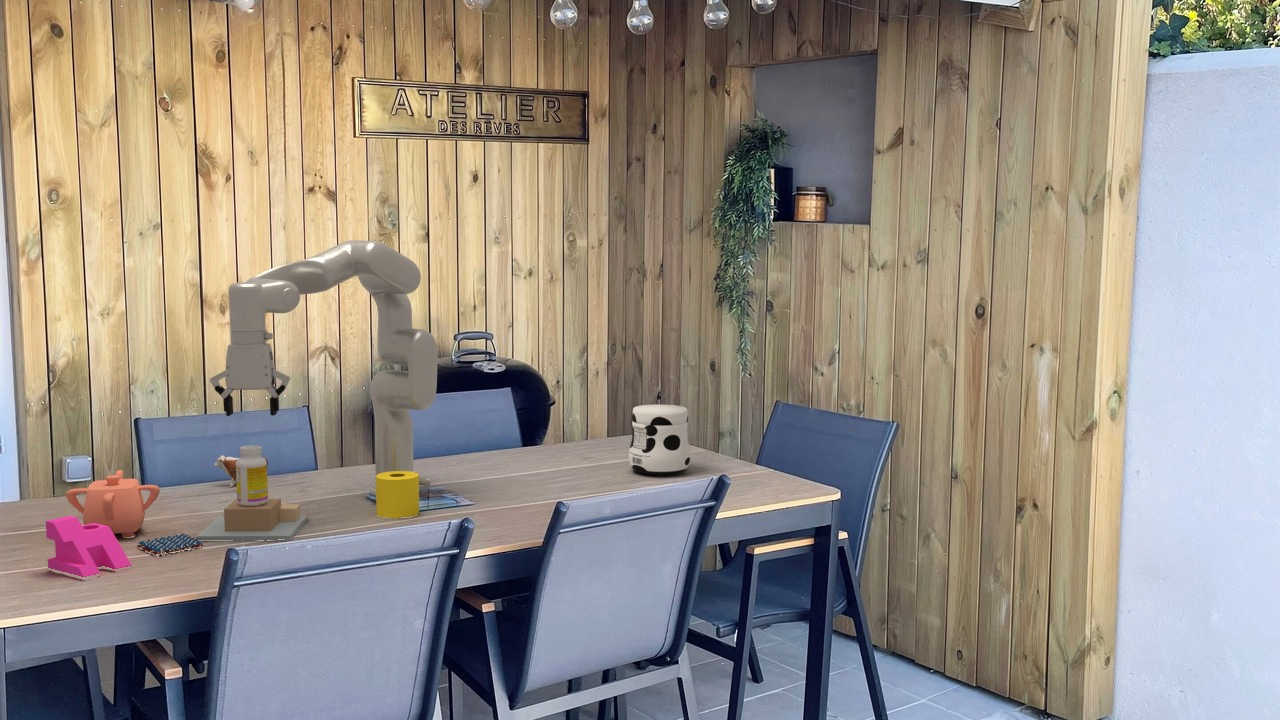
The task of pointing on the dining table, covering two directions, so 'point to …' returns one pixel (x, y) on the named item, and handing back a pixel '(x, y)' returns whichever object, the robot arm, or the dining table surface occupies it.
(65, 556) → the bracket
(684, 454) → the milk container
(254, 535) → the board
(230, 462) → the bull figurine
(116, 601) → the dining table surface
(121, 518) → the teapot
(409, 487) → the yellow toilet paper roll
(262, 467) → the supplement bottle
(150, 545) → the woven mat
